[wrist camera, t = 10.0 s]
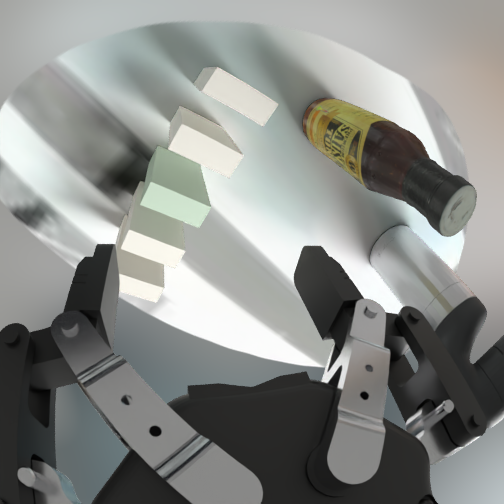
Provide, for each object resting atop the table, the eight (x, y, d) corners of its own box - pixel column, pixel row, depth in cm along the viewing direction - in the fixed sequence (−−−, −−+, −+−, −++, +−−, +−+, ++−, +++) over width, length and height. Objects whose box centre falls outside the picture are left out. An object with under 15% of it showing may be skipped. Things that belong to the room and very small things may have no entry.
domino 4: (180, 198, 31) (185, 251, 24) (172, 212, 32) (175, 268, 24) (140, 180, 29) (129, 229, 21) (133, 196, 30) (120, 248, 22)
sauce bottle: (292, 105, 28) (430, 175, 12) (342, 90, 28) (491, 149, 12) (307, 157, 32) (423, 263, 17) (352, 141, 32) (480, 228, 16)
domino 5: (164, 229, 33) (164, 288, 25) (157, 242, 34) (156, 302, 26) (125, 214, 31) (112, 271, 23) (119, 228, 31) (106, 287, 24)
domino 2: (222, 127, 28) (244, 155, 20) (212, 143, 29) (229, 178, 21) (180, 105, 25) (181, 123, 18) (170, 122, 26) (167, 149, 18)
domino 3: (200, 164, 30) (211, 207, 22) (191, 180, 30) (198, 228, 23) (157, 145, 27) (150, 181, 19) (149, 161, 28) (140, 204, 20)
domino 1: (246, 91, 26) (278, 104, 18) (235, 107, 27) (263, 126, 19) (204, 67, 24) (217, 67, 16) (193, 84, 24) (201, 91, 17)
